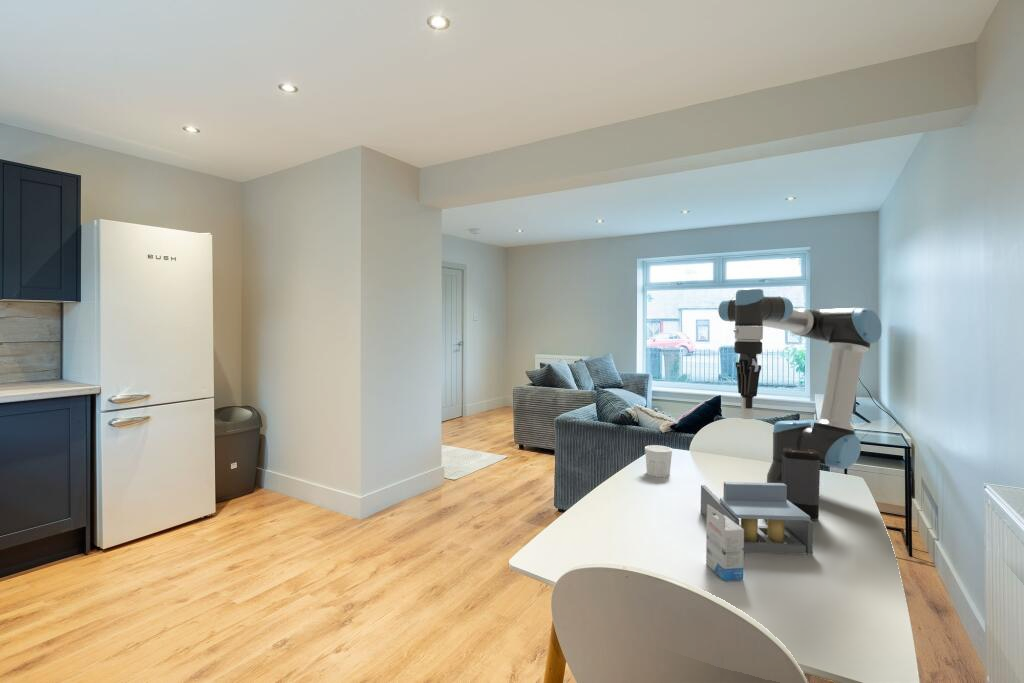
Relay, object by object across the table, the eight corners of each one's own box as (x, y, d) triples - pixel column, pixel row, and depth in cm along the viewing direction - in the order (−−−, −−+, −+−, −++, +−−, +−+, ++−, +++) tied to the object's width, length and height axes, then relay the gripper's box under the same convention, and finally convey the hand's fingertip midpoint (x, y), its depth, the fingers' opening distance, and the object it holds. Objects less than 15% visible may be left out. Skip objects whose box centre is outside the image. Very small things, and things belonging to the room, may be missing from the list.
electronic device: (814, 514, 147) (816, 449, 147) (819, 522, 142) (821, 454, 141) (780, 510, 150) (781, 446, 150) (783, 517, 145) (785, 451, 144)
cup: (675, 478, 182) (675, 451, 182) (648, 477, 182) (649, 451, 182) (667, 470, 192) (667, 445, 192) (641, 469, 192) (642, 445, 192)
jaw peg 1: (753, 538, 130) (753, 513, 130) (759, 545, 127) (760, 519, 126) (738, 538, 131) (738, 512, 131) (744, 545, 127) (744, 518, 127)
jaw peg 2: (779, 540, 130) (780, 514, 130) (787, 546, 126) (787, 520, 126) (764, 539, 130) (764, 513, 130) (771, 546, 126) (771, 519, 126)
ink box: (744, 581, 109) (745, 516, 109) (723, 581, 109) (724, 517, 108) (724, 562, 118) (725, 502, 117) (705, 563, 117) (706, 503, 117)
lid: (786, 502, 134) (787, 483, 134) (810, 520, 122) (810, 499, 122) (719, 501, 135) (720, 481, 135) (736, 518, 123) (737, 496, 123)
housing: (764, 513, 148) (765, 486, 148) (812, 554, 122) (813, 522, 121) (700, 511, 150) (701, 485, 149) (733, 551, 123) (734, 519, 123)
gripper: (727, 339, 152) (725, 414, 153) (744, 341, 139) (742, 422, 140) (752, 339, 151) (750, 414, 152) (771, 341, 138) (769, 423, 139)
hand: (746, 418), depth 146 cm, fingers closed
